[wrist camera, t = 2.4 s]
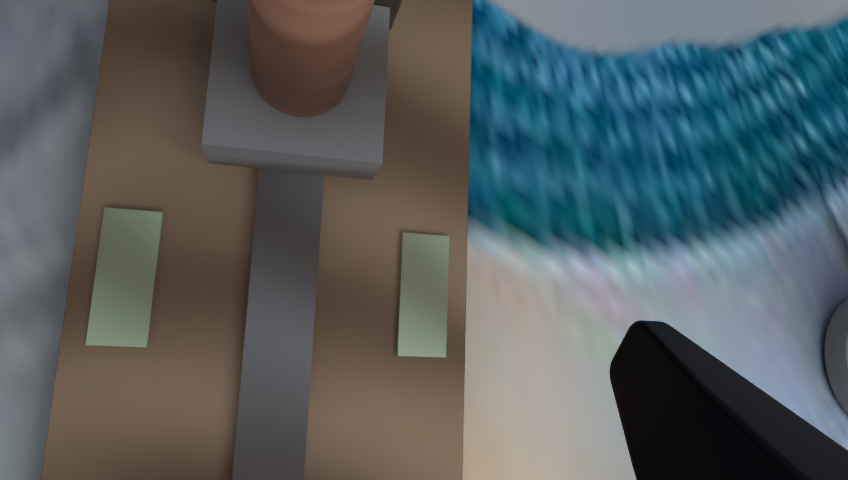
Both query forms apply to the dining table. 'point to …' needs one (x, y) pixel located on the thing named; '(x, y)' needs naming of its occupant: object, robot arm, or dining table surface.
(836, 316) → the travel mug
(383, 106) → the handle
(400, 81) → the press base
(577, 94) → the dining table surface
